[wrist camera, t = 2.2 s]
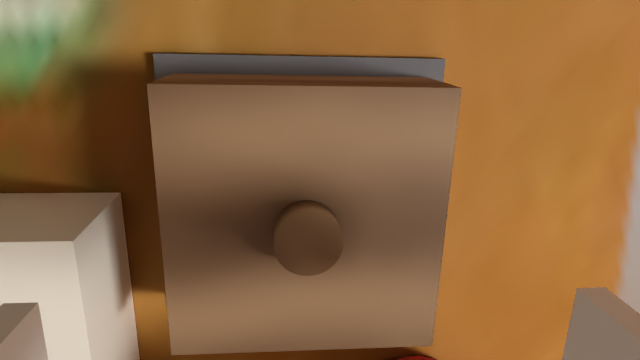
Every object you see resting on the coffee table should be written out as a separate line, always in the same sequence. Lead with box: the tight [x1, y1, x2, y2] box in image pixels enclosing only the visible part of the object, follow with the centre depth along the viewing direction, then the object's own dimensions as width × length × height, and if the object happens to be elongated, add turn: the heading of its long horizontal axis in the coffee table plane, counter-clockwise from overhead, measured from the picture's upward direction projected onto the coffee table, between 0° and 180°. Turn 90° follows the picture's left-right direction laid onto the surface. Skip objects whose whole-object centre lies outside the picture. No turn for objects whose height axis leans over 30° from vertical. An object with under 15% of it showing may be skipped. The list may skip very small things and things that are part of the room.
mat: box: [153, 53, 445, 82], centre depth 21 cm, size 12×12×1 cm
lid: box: [147, 73, 461, 355], centre depth 18 cm, size 10×10×5 cm
